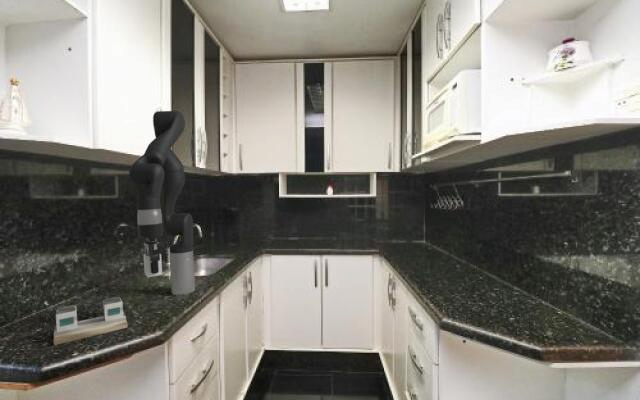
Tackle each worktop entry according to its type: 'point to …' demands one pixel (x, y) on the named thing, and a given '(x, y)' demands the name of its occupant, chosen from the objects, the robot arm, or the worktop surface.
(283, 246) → the worktop surface
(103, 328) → the rail board
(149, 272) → the block
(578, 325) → the worktop surface
